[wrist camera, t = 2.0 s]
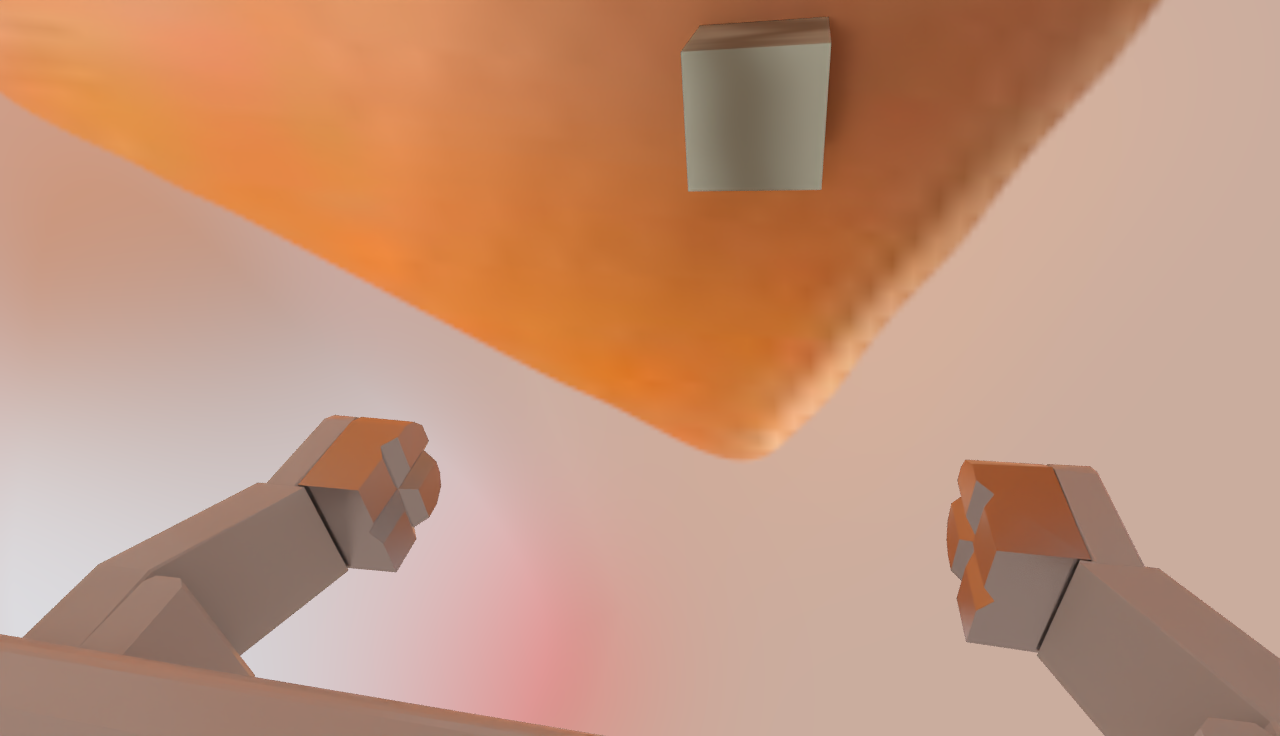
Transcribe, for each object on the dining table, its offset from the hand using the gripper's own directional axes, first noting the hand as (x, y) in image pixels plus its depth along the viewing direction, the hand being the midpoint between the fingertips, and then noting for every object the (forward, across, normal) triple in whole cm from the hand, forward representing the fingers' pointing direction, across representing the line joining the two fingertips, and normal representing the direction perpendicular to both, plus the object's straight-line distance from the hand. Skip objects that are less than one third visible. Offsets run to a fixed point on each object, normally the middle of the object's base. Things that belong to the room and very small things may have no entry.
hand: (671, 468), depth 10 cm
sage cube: (+22, 0, 0) cm, 23 cm away
